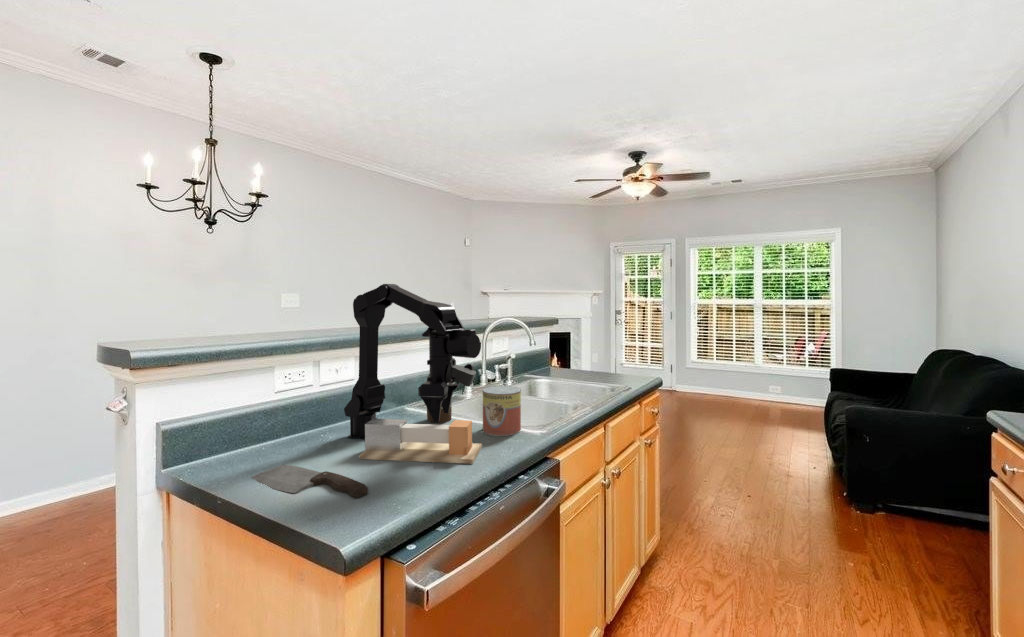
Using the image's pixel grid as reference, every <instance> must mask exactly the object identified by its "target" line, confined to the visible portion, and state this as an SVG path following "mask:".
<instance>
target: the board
mask: <svg viewBox="0 0 1024 637" xmlns="http://www.w3.org/2000/svg"><path fill="white" fill-rule="evenodd" d="M482 448H483V443H478V442H477V443H476V442H475V443H474V442H472V448H471V450H470V451H469V453H468V454H467V455H457V454H449V444H444V443H418V442H407V446H405V447H404V448H403V449H402V450H401V451H400V452H397V451H373V450H365V449H364V450H363V452H361V453H360V454H359V460H374V461H375V460H379V461H400V462H401V461H402V462H404V461H405V462H422V463H423V462H426V463H445V464H446V463H450V464H467V465H468V464H469V465H470V464H471V465H472V464H474V463H475V460H476V459H477V457H478V455H479V453H480V451H481V450H482Z"/></svg>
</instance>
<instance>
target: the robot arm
mask: <svg viewBox="0 0 1024 637" xmlns="http://www.w3.org/2000/svg"><path fill="white" fill-rule="evenodd" d="M393 304H395V305H397V306H399V307H400V308H402V309H404V310H406V311H409V312H410V313H413V314H415V315H416V316H417V317H418V319H419V320H420V322H421V323H423V325H425V326H426V327H427V329H426V330H424V332H423V333H422V334H421V336H422V338H423V337H424V338H426V337H427V338H428V340H429V341H428V345H429V346H428V350H429V356H428V357H429V359H427V361H426V365H427V366H429V374H430V376H429V375H428V376H429V377H428V376H427V379H426V381H425V382H423V383H421V384H420V385H419V386H418V390H417V391H418V396H419V397H420V399H421V400H422V402H423V403H424V405H425V406H426V407H425V408H426V410H427V409H428V410H429V413H430V415H431V417H432V419H433V421H434V422H435V423H434V424H439V423H438V422H439V420H440V413H441V406H442V408H443V411H444V413H448V412H449V409H450V404H451V403H452V399H453V395H454V392H455V391H456V389H458V388H459V387H461V386H460V385H461V384H462V386H465V387H468V388H469V387H471V385H473V383H474V380H475V377H476V374H477V371H476V370H474V365H473V364H472V363H468V362H467V364H466V365H459V364H457V360H456V359H455V358H456V357H458V358H466V359H467V358H468V359H476V358H477V357H478V356H479V355H480V352H481V349H482V342H481V341H480V340H481V339H480V338H479V336H478V335H477V334H476V329H474V328H471V329H469V328H468V329H466V328H465V327H464V325H463V323H462V322H461V320H460V318H459V317H458V315H457V313H456V312H457V311H456V308H455V307H454V306H453V305H451V304H447V303H443V302H436V301H431V300H427V299H426V298H424V297H421V296H419V295H418V294H415V293H412V292H411V291H408V290H407V289H404V288H403V287H400V286H399V285H398V284H395V283H383V284H381V285H379V286H377V287H376V288H373V289H371V290H369V291H366V292H364V293H363V294H359V295H357V296H356V297H355V298H354V299H353V302H352V309H353V317H354V319H355V321H356V323H357V325H358V327H359V340H358V341H359V346H358V347H359V353H358V354H359V355H358V379H357V380H356V383H355V384H354V386H353V388H352V392H351V398H350V400H349V401H348V402H347V404H346V406H344V408H343V411H344V415H345V417H349V421H350V422H349V423H350V424H349V425H350V427H349V429H350V432H349V433H350V434H348V435H347V439H359V440H361V439H362V440H363V439H364V440H365V424H366V423H367V422H369V421H371V420H372V419H378V418H377V417H376V416H377V413H380V412H381V410H382V405H383V403H384V400H386V393H385V391H386V385H385V384H383V383H381V382H380V380H379V377H378V374H379V373H378V372H379V371H378V370H379V369H378V368H379V367H378V366H379V365H378V364H379V363H378V361H379V358H378V357H379V328H380V325H381V324H382V322H383V320H384V318H385V315H386V314H385V313H386V309H388V308H389V307H390V306H392V305H393ZM454 357H455V358H454ZM430 381H432V382H430Z"/></svg>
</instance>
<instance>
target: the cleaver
mask: <svg viewBox="0 0 1024 637" xmlns="http://www.w3.org/2000/svg"><path fill="white" fill-rule="evenodd" d="M250 478H251V479H253V480H254V481H256V482H258V483H259V484H261V483H262V485H263V484H265V485H267V486H268V487H267V486H266V487H267V488H269V487H270V488H269V489H271V488H272V490H274V491H275V490H276V491H280V492H285V493H291V494H297V493H298V494H299V493H302V492H304V491H306V490H309V489H311V488H312V487H316V486H321V485H323V486H324V485H325V486H329V487H331V488H332V489H333V490H334V491H336V492H340V493H345V494H348V495H349V496H351V497H352V498H354V499H359V498H362V497H364V496H366V495H367V494H368V492H369V487H368V486H367V485H366V484H364V483H362V482H361V481H358V480H355V479H353V478H350V477H348V476H345V475H342V474H339V473H335V472H330V471H328V470H327V471H322V472H321V471H318V470H317V471H316V470H313V469H309V468H304V467H301V466H300V467H299V466H296V465H291V464H281V465H279V466H276V467H274V468H270V469H267V470H265V471H262V472H259V473H256V474H254V475H252V476H251V477H250ZM265 485H264V486H265Z"/></svg>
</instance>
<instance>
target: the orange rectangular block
mask: <svg viewBox="0 0 1024 637" xmlns="http://www.w3.org/2000/svg"><path fill="white" fill-rule="evenodd" d="M449 425H450V426H449V454H457V455H467V454H468V453H469V451H470V450H471V448H472V443H473V420H463V419H462V420H459V419H454V420H453V421H452V422H451V423H450V424H449Z"/></svg>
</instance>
